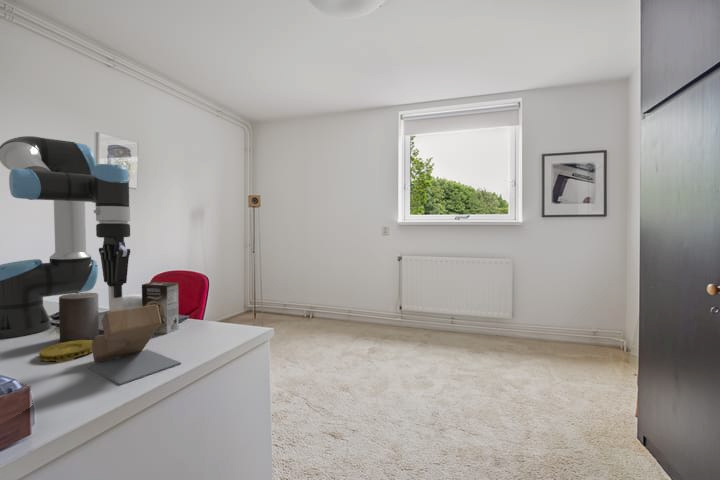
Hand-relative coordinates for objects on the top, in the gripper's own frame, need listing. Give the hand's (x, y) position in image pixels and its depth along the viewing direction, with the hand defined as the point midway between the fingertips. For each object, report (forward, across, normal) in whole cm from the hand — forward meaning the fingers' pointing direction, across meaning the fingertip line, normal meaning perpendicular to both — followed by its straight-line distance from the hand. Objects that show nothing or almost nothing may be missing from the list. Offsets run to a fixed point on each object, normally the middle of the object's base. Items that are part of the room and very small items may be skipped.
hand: (115, 309), depth 95 cm
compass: (+13, -12, -7) cm, 19 cm away
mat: (+13, +12, -1) cm, 18 cm away
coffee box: (+13, -12, +18) cm, 25 cm away
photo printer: (+13, -20, +12) cm, 27 cm away
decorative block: (+11, +1, 0) cm, 11 cm away
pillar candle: (+13, -25, 0) cm, 28 cm away
